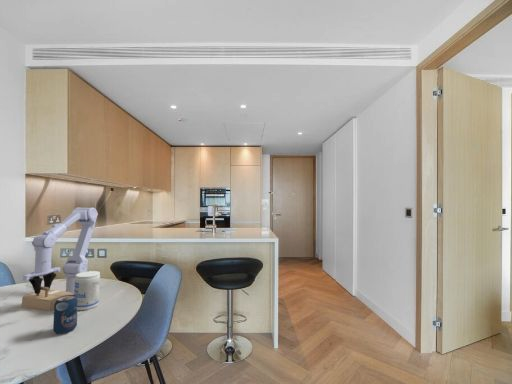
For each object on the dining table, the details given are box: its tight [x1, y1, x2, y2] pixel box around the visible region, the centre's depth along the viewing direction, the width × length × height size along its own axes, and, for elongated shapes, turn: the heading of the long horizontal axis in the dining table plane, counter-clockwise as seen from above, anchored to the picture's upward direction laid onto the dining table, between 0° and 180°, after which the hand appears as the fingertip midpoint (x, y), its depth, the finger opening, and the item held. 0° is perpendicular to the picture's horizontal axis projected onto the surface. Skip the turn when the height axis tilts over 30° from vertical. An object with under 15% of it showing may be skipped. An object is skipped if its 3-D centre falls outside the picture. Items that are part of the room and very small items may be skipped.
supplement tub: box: [74, 270, 101, 311], centre depth 115 cm, size 10×10×15 cm
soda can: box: [52, 295, 78, 336], centre depth 93 cm, size 7×7×12 cm
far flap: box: [22, 285, 61, 301], centre depth 114 cm, size 5×16×5 cm, turn 76°
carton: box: [21, 289, 72, 311], centre depth 117 cm, size 10×16×4 cm, turn 76°
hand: (42, 291), depth 114 cm, fingers open, 3 cm apart
